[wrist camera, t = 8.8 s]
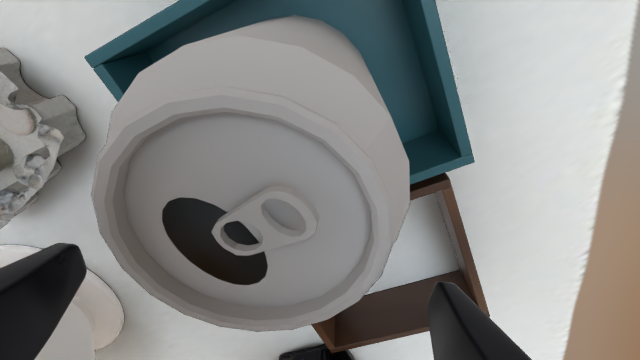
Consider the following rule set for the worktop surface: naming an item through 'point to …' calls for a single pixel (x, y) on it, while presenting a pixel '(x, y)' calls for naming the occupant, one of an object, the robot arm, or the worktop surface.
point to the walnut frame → (406, 288)
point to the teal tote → (364, 33)
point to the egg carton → (30, 138)
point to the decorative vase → (78, 315)
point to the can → (254, 177)
